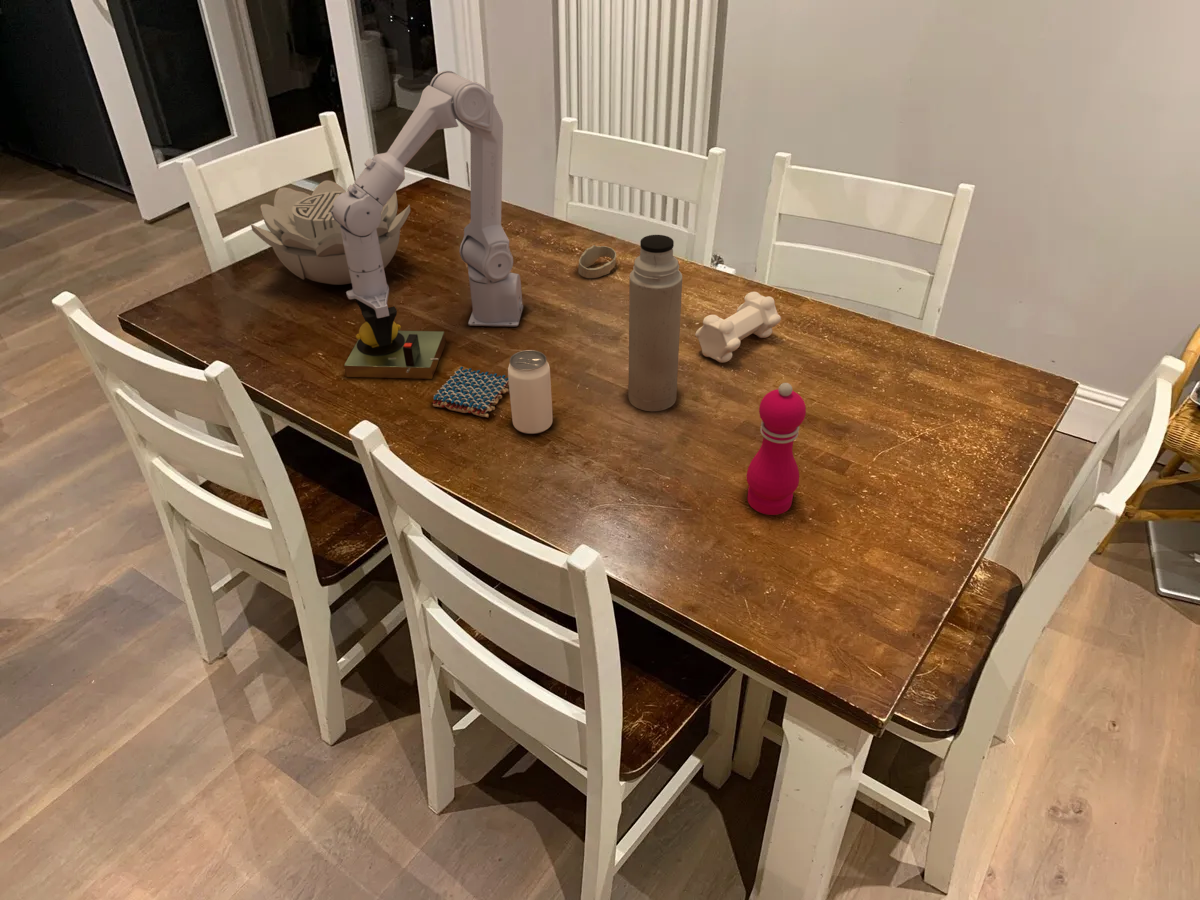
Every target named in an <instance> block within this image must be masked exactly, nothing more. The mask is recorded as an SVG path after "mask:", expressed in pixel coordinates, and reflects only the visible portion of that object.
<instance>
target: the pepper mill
mask: <svg viewBox="0 0 1200 900" xmlns="http://www.w3.org/2000/svg"><path fill="white" fill-rule="evenodd" d="M806 410H807V407H806V403H805V400H804V399H803V398H802V396H801V395H800V394H798V393H797V392H796V391H794V390H793V386H792V384H790V383H789V382H782V383H781V384H780V385H778V388H776V389H773V390H770V391H769V392H767V393H766V394H765V395H764V396H763V397H762V399H761V401H760V403H759V408H758V414H759V418H760V419H761V422H760V429H759V431H760V435H761V436H762V442H761V445H760V448H759V449H758V450H757V452H756V454H755V455H754V456H753V457H752V459H751V461H750V463H749V465H748V467H747V471H746V482H747V485H748V489H747V496H746V497H747V503H748V504H749V506H750V507H751V508H752V509H753V510H754V511H756V512H758V513H760V514H763V515H766V516H767V515H768V516H777V515H781V514H784V513H786V512H787V511H788V510H790V509H791V507H792V504H793V499H794V498H793V497H794V492H796V491H797V489H798V487H799V485H800V470H799V466H798V464H797V461H796V459H795V457H794V453H793V447H794V442H795V441H796V440H797V438H798V436H799V431H800V425H802V424H803V422H804V420H805V417H806V415H807V414H806V413H807V411H806Z"/></svg>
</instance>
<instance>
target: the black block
mask: <svg viewBox="0 0 1200 900" xmlns="http://www.w3.org/2000/svg"><path fill="white" fill-rule="evenodd" d="M403 352H404V358H405V363H406V366H414V365H415V363H416V361H417V358H418V356H419V354H420V347H419V341H418V335H417V334H409V336H408V338H407V340H406V342H405V344H404V346H403Z"/></svg>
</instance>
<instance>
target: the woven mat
mask: <svg viewBox="0 0 1200 900" xmlns="http://www.w3.org/2000/svg"><path fill="white" fill-rule="evenodd" d="M472 370H473V368H471V367H470V368H465V369H464V366H460V368H458V370H455V371H454V374H453V375H452V376H451V375H450V376H449V379H448V380H446V381H445V382H446V383H444V384H443V385H441V387H440V389H437V392H436V393H435V394H433V401H432V406H433V407H435V408H436V407H437V408H446V409H448V410H449V411H454V412H458V413H463V414H467V413H468V414H473V415H475V416H478V417H482V418H487V419H489V417H490V414H489V413H491V412H492V411H495V409H496V407H495V406H496V405H497V404H498V403H499V401H500V400H502V399H503V394H506V393H510V390H509V379H508V377H507V378H506V374H502V375H498V373H497V372H495V373H494V374H493V373H490V374H489V371H485V372H481V369H477V370H473V371H472ZM480 372H481V373H480Z"/></svg>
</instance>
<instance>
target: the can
mask: <svg viewBox="0 0 1200 900" xmlns="http://www.w3.org/2000/svg"><path fill="white" fill-rule="evenodd" d="M507 378H508V379H509V387H508V389H509V400H510V410H511V421H512V426H513V427H514V428H515V430H517V431H518V432H520V433H522V434H526V435H537V434H541V433H544V432H546V431H547V430H549V428H550V427H551V426H552V425H553V419H554V417H553V397H552V395H553V394H552V379H551V378H552V377H551V367H550V364H549V362H548V360H547V356H546V355H545V354H544V353H543V352H541V351H539V350H534V349H526V350H525V349H524V350H520V351H517V352H516V353H514V354H512V355H511V356H510V358H509V364H508V367H507Z"/></svg>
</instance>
